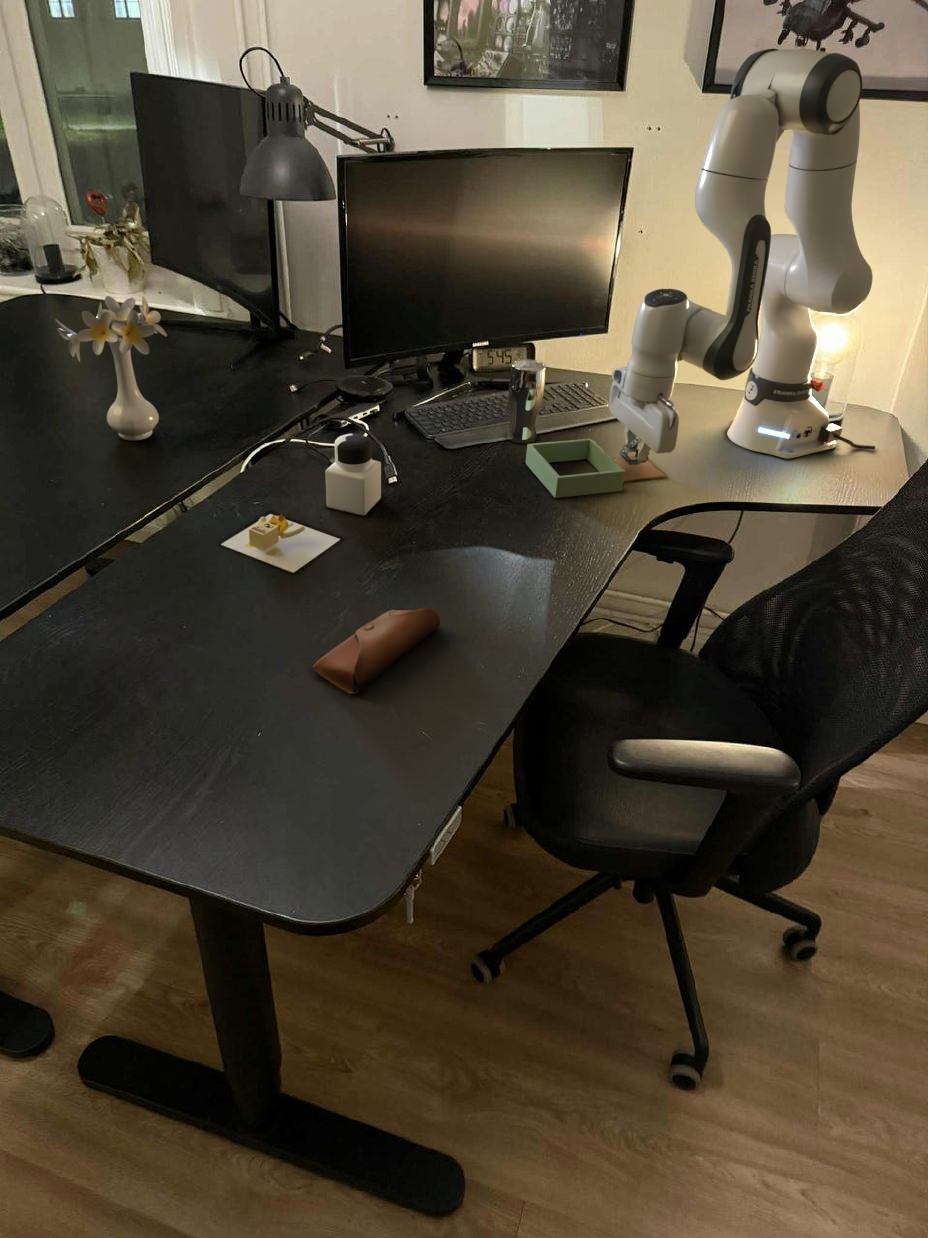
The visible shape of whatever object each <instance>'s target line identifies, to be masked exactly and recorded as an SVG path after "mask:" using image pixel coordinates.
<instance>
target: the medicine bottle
mask: <svg viewBox="0 0 928 1238" xmlns="http://www.w3.org/2000/svg"><path fill="white" fill-rule="evenodd" d="M372 444H373V443H372V441H371V439H370V438H369V437H368V436H366V435H364V434H359V433H347V434H342V435H340V436H338V437H337V438H336V439H335V441H334V462H333V463H332V464H330V465H329V467H327V469H325V499H326V508H328V509H332V510H336V511H341V512H346V513H348V514H349V513H350V514H354V515H357V516H362V517H364V516H366V515H367V514H368V513H369V512H370V511H371V509H373V507H374V506H375V505H376V504H377V503H378V502H379V501H380V500H381V498H382V462H381V461H378V460H374V459H373V458H372V457H373V456H372V454H373V453H372V451H373V450H372Z"/></svg>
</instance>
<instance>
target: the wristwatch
mask: <svg viewBox="0 0 928 1238" xmlns="http://www.w3.org/2000/svg"><path fill="white" fill-rule="evenodd" d="M640 441H641V439H639V438H636V439H635V440H633V441H632V442H631V443H629V444H626V443H625V444H623V446H622V447H621V448H620V450H619V455H620V456H621V458H623V459H624V460H625V461H626V462H627V463H628V464H630V465H639V464H640V463H643V462H644V463H645V462H646V461H647V460H648V461H649V457H648V456H650V451H649V452H648V455H647V459H646V460H645V461H639V460H637V459H634V460H632V459H630V458H629V457H630V456H629V455H628V453H629V449H631V448H633V447H634V446H635V445H636V444H638V445H639V444H640Z"/></svg>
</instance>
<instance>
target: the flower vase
mask: <svg viewBox="0 0 928 1238" xmlns="http://www.w3.org/2000/svg"><path fill="white" fill-rule="evenodd" d="M104 303H105V306H106V307H107V308H106V309H105V308H103V306H102V305H103V304H102V302H101V301H100V302H99V306H98V310H97V314H96V317H95V315H93V314H92V313H91V312H90V311H88V310H83V311H82V312H81V318H82V321H83V322H84V324H85V325H86V327H88V328H84V329H82V330H80V331H78V332H77V333H76V332H74V331H73V330H72V329H69V328H68V327H67V326H65V325H64V324H63V323H61V322H60V321H59V320H58V319H55V322H56V323H57V324H58V326H59V327H60V328H59V327H57V328H56V330H57V332H58V334H59V335H60V337H62V339H64V340H66V341H69V342H68V351H69V353H70V356H71V357H72V358H74V357H75V356H76V359H77V360H78V362H79V363H81V354H80V353H81V352H80V348H81V342H84V343H86V342H91V341H93V342H92V351H93V354H95V355H96V356H100V355H101V354H102V353H103V351H104V348H105V342H107V343H108V345H109V347H110V350H111V353H112V357H113V361H114V368H115V374H116V375H115V376H116V381H117V393H116V397H115V400H114V402H113V403H112V404H111V405H110V407H109V409H108V410H107V414H106V422H107V424H108V426H109V428H111V429H112V430H113V431H114V432H117V433H118V437H119V438H121V439H123V440H125V441H133V442H134V441H141V440H146V439H148V438H149V437H151V436H152V435H153V432H154V431H153V430H154V429H155V428H156V426H158V423H159V420H160V414H159V413H158V410H157V408H156V406H154V405H153V404H152V403H151V402H150V401H148V400H147V399H146V398H145V397H144V395H142V393H141V391H140V389H139V387H138V383H137V379H136V375H135V371H134V367H133V360H132V353H131V352H132V350H131V349H132V348H133V347H134V348H135V349H136V350H137V351H138V352H139V353H140V354H142V355H144V356H145V355H146V356H147V355H149V354H150V347H149V345H148V343H147V342H146V340H145V339H144V338H148V337H151V336H153V334H156V335H157V334H158V333H159V334H160V335H163V336H164V337H168V334H167V332H166V330H164V328H163V327H161V325H159V324H157V323H159V322H160V321H161V318H162V317H161V314H160V313H159V311H157V310H151V311H150V307H149V303H148V301H147V300H146V297H145V296H142V297H141V305H139V310H140V312H137V311H136V310H134V307H135V305H136V299H135V298H134V297H130V298H127V299H126V300H124V301H123V302H122V304H121V305H120V304H119V302H118V301H117V299H115V298H114V297H112V296H110V295H107V296H105V297H104ZM110 325H111V327H110Z"/></svg>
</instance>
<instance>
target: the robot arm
mask: <svg viewBox="0 0 928 1238" xmlns="http://www.w3.org/2000/svg"><path fill="white" fill-rule="evenodd" d="M862 92H863V77H862V72H861V69H860V66H859V65H858V63H857V61H856V60H855V59H852V57H851V58H850V57H849V56H847V55H844V54H841V53H839V52H832V53H830V52H826V51H823V50H818V49H813V48H812V49H810V48H797V49H777V48H767V49H762V50H758V51H757V52H754V53H752V54H750V55H749V56H748V57H747V58H745V60H744V61H743V62H742V64H741V66H740V67H739V69H738V70H737V72H736V74H735V76H734V79H733V82H732V86H731V91H730V97H729V100H728V101H727V102H726V103H725V104H724V105H723V106H722V108H721V110H720V112H719V114H718V117H717V118H716V121H715V123H714V126H713V128H712V130H711V134H710V136H709V139H708V142H707V145H706V149H705V151H704V155H703V158H702V162H701V166H700V169H699V174H698V178H697V181H696V186H695V193H694V208H695V211H696V214H697V216H698V218H699V220H700V222H701V223H702V224H703V226H704V227H705V228H706V229H707V231H709V233H711V234H712V235H713V236H714V237H715V238H716V239H717V240H718V242H720V243H721V245H722V246H723V247H724V249H725V250H726V252H727V253H728V256H729V259H730V262H731V278H730V283H729V292H728V298H727V304H726V312H725V314H722V313H720V312H717V311H714V310H712V309H711V308H707V307H705V306H703V305H700V304H698V303H695V302H693V301H692V300H690V299H689V297H688V295H687V294H686V292H684V291H682V290H679V289H676V288H659V289H655V290H652V291H650V292H648V293H646V295H645V296H644V297H643V299H642V300H641V302H640V305H639V307H638V311H637V314H636V317H635V322H634V325H633V331H632V335H631V355H630V357H629V359H628V361H627V365H626V366H621V367H615V368H613V369H612V373H611V378H612V380H613V381H612V383H611V387H610V393H609V398H608V399H609V400H608V408H609V413H610V414H611V416H613V417H614V418H615V419H617V421H619V422H620V423H621V424H622V425H623V426H624V435H625V436H624V437H625V445H626V444H629V443H631V442H632V441H633V440H635V439H641V441H640V443H638V444H636V445H635V446H634V447H633V448H631V449H629V451H628V453H635V455H634V456H635V458H636V459H637V460H639V461H645V460H646V459H647V455H648V452H649V453H650V451H651V450H652V451H653V452H654V453H655V454H668V453H669V454H670V453H672V452H673V451H674V450H675V449H676V446H677V440H678V435H679V425H680V424H679V423H680V418H679V416H680V415H679V413H678V411H677V409H676V404H675V403H674V402H673V401H672V400H670V399H672V396H673V392H674V386H675V383H676V377H677V373H678V363H679V362H680V361H683V362H685V363H687V364H689V365H691V366H694V367H696V368H699V369H701V370H703V371H704V372H705V373H707V374H709V375H710V376H712V377H714V378H716V379H718V380H720V381H729V380H731V379H734V378H736V377H739V376H740V375H742V374H743V373H745V372H746V371H748V370H749V372H748V374H747V378H746V381H745V385H744V386H745V388H744V395H743V397H742V400H741V403H740V406H739V408H738V410H737V413H736V415H735V417H734V419H733V421H732V422H731V425H730V427H729V428H728V430H727V433H726V434H727V437H728V439H729V440H730V441H731V442H733V443H734V444H736V445H738V446H740V447H742V448H744V449H747V450H750V451H754V452H758V453H762V454H768V455H772V456H775V457H779V458H781V459H786V460H788V459H789V460H790V459H794V458H797V457H803V456H806V455H810V454H811V455H812V454H815V453H819V452H823V451H828V450H831V449H835V448H836V446H837V441H841V442H844V443H845V444H847V445H850V447H852V448H854V449H861V450H875V449H876V446H875V445H868V444H867V445H865V444H857V443H854V442H853V441H851V440H850V439H848V438H846V437H844V436H842V435H841V434H842V431H843V427H841V426H839V425H838V424H836V423H835V424H834V423H830V417H829V413H828V412H827V411H826V410H825V409H824V408H823V407H822V406H821V404H819V402H818V401H817V400H816V398H814V397H813V396H812V390H814V391H816V392H817V393H820V392H822V390H824V388H825V382H823V381H821V380H819V379H817V378H816V379H813V378H812V377H811V376H810V375H811V374H812V369H813V365H814V362H815V359H816V355H817V353H818V349H819V345H820V336H819V334H818V331H817V329H816V328H815V325H814V324H813V322H812V317H811V311H813V312H816V313H819V314H824V315H831V316H848V315H849V314H852V313H853V312H855V311H856V310H857V309H859V308H860V307H861V306H862V305H863V304H864V302H865V301H866V300H867V298H868V297H869V294H870V292H871V289H872V287H873V286H872V285H873V279H874V278H873V270H872V268H871V265H870V264H869V263H868V261H867V260H866V258H865V257H864V255H863V254H862V251H861V249H860V246H859V244H858V240H857V236H856V232H855V227H854V221H853V208H852V207H853V193H854V186H855V185H854V184H855V179H856V177H855V176H856V170H857V163H858V155H859V148H860V135H861V108H860V107H861V106H860V101H861V97H862ZM789 130H791V131H792V139H791V144H790V150H789V157H788V167H787V168H788V169H787V176H786V185H785V195H784V204H783V205H784V212H785V215H786V217H787V219H788V220H789V222H790V224H791V225H792V226H793V229H794V231H795V233H796V234H793V233H774V234H772V228H771V224H770V222H769V220H768V219H767V214H766V207H765V206H766V201H765V200H766V191H767V185H768V180H769V178H770V174H771V170H772V166H773V161H774V157H775V153H776V146H777V143H778V141H779V139H780V138H781V137H782V135H783V134H784V132H785V131H789ZM810 310H811V311H810ZM759 327H760V329H759ZM759 333H760V334H759ZM639 444H640V447H639V448H638V446H639ZM648 456H649V455H648Z"/></svg>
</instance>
